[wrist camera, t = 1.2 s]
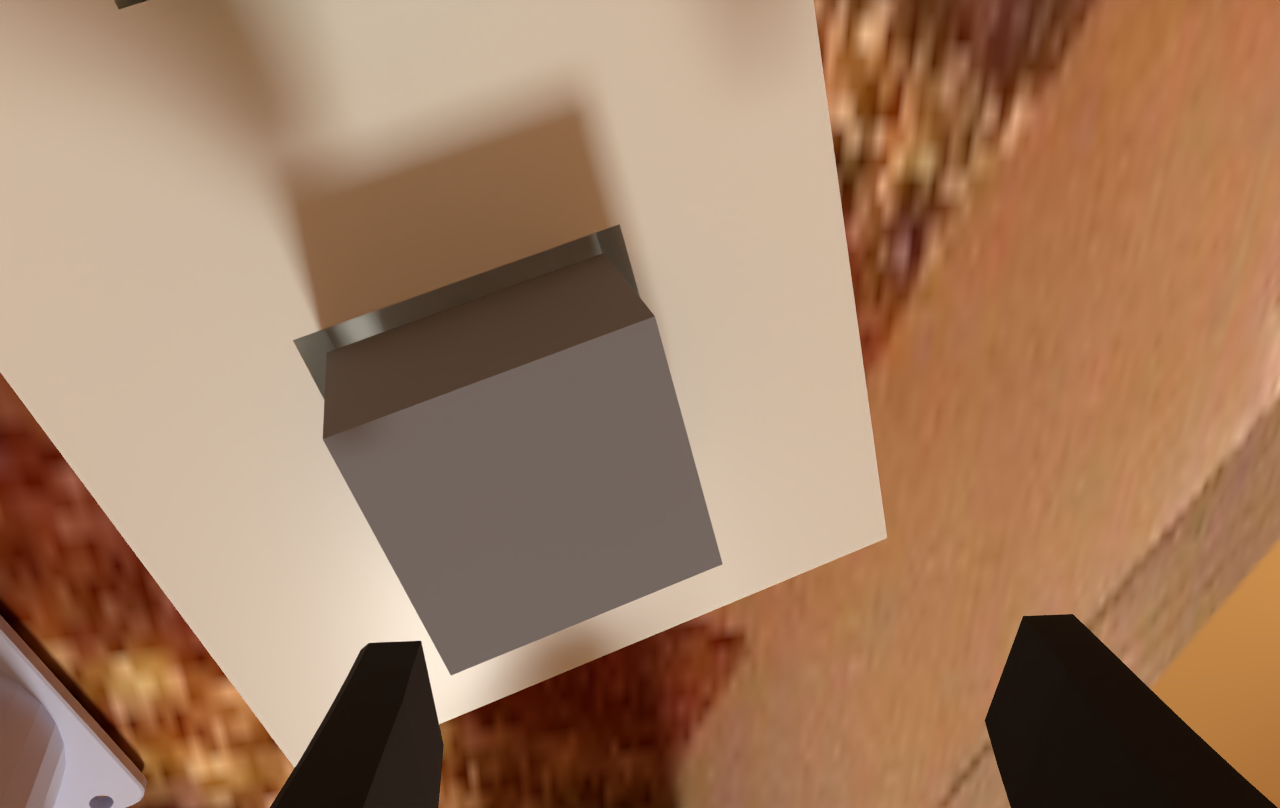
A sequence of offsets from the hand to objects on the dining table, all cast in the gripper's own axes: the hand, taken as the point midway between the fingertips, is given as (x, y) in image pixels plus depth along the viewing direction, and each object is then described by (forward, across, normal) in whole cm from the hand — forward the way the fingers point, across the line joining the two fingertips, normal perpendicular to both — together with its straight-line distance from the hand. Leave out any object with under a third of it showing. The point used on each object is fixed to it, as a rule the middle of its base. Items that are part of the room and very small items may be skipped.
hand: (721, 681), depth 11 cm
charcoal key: (+7, +3, +1) cm, 7 cm away
